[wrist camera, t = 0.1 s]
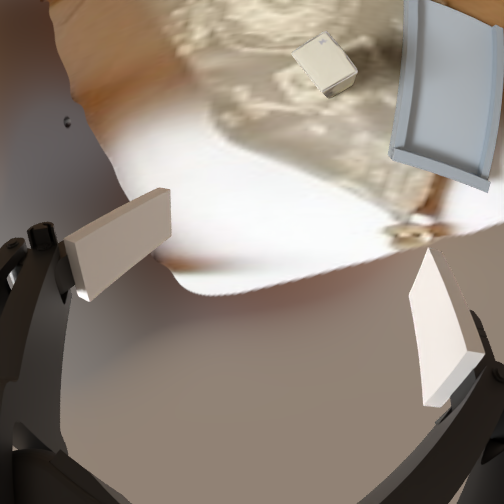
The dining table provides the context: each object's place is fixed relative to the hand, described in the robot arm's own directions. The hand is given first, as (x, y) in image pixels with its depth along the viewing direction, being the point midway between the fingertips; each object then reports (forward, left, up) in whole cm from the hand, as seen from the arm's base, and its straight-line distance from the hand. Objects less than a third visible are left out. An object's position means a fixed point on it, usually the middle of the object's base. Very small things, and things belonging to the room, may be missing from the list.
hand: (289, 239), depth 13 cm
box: (-11, -1, -28) cm, 30 cm away
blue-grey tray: (-14, +15, -28) cm, 34 cm away
